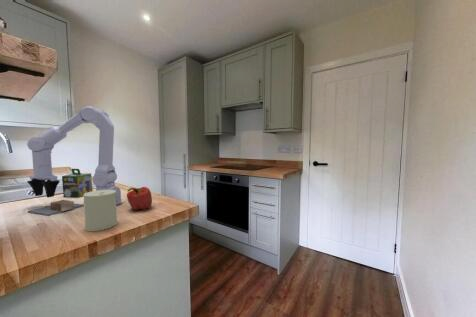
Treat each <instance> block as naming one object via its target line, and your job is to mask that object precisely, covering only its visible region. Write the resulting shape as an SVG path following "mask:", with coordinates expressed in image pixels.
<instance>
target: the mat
mask: <svg viewBox="0 0 476 317" xmlns="http://www.w3.org/2000/svg"><path fill="white" fill-rule="evenodd" d="M81 207H84V204H82V203H75V202H74V208H72V209H69V210H65V211H56V210H51V204H50V205H46V206H42V207H38V208H33V209H29V210H27V211H26V212H27V213H30V214H35V215H41V216H46V217H50V216H53V215H57V214H60V213H64V212H68V211H71V210H75V209H78V208H81Z"/></svg>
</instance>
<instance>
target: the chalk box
mask: <svg viewBox="0 0 476 317" xmlns="http://www.w3.org/2000/svg"><path fill="white" fill-rule="evenodd" d="M75 171H76V172H75ZM92 178H93V177H92V173H90V172H89V173H88V172H87V173H86V172H85V173H82V172H81V170H80V169H79V168H71V174H65V175H62V176H61V181H62V182H61V183H62V191H63V193H62V194H63V198H82V197H84V196H83V195H84V194H85V193H88V192H92V191H94V190H93V181H92Z"/></svg>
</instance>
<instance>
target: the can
mask: <svg viewBox="0 0 476 317" xmlns="http://www.w3.org/2000/svg"><path fill="white" fill-rule="evenodd" d="M82 197H83V203H84V204H83V205H84V206H83V209H84V222H85V224H84V226H85V227H84V231H88V232H100V231H104V229H105V230H108V229H111V228H113V227H115V226H116V225H117V224H118V216H117V214H118V213H117V205H116V191H115V190H97V191H96V190H93V191H92V192H88V193H85V194H84V195H83V196H82ZM114 225H115V226H114ZM112 226H113V227H112ZM110 227H111V228H110ZM107 228H108V229H107ZM99 230H100V231H99Z"/></svg>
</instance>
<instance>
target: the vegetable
mask: <svg viewBox="0 0 476 317" xmlns="http://www.w3.org/2000/svg"><path fill="white" fill-rule="evenodd" d="M126 198H127V201H128V203H129V205H130V208H132V210H135V211H138V210H146V209H148V208H150V207H151V206H152V202H153V197H152V192H151V189H150V188H148V187H146V186H142V187H140V188H136V187H130V188H128V189H127V193H126Z"/></svg>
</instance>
